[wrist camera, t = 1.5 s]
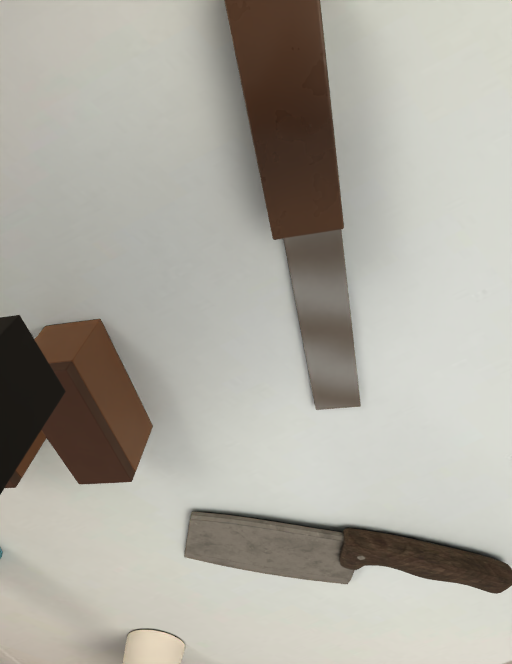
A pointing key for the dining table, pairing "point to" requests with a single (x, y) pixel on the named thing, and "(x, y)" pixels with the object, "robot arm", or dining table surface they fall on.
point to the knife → (300, 176)
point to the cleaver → (332, 552)
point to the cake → (26, 461)
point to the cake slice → (93, 405)
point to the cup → (153, 648)
